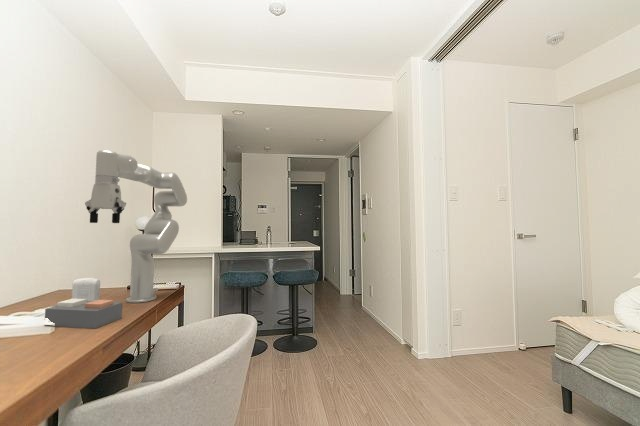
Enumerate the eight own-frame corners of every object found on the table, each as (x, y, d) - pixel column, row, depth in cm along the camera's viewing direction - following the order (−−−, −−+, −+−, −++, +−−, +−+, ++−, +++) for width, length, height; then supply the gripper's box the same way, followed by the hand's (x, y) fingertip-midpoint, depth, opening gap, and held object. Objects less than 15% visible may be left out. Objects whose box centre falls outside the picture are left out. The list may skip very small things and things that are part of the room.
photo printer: (101, 304, 133) (102, 277, 134) (95, 307, 129) (96, 278, 130) (75, 305, 132) (77, 277, 132) (69, 307, 128) (70, 278, 128)
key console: (75, 315, 117) (76, 300, 117) (121, 318, 115) (122, 302, 115) (44, 325, 105) (45, 308, 105) (95, 328, 103) (96, 311, 103)
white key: (71, 310, 114) (72, 298, 114) (86, 311, 113) (86, 299, 113) (56, 314, 108) (57, 302, 108) (71, 315, 107) (72, 303, 107)
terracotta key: (98, 311, 113) (98, 299, 113) (112, 312, 112) (113, 300, 112) (84, 316, 107) (84, 303, 107) (99, 317, 106) (100, 304, 106)
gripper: (133, 182, 125) (131, 223, 124) (94, 182, 126) (92, 222, 125) (119, 179, 117) (117, 223, 116) (79, 179, 119) (76, 222, 118)
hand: (104, 223), depth 121 cm, fingers open, 9 cm apart
